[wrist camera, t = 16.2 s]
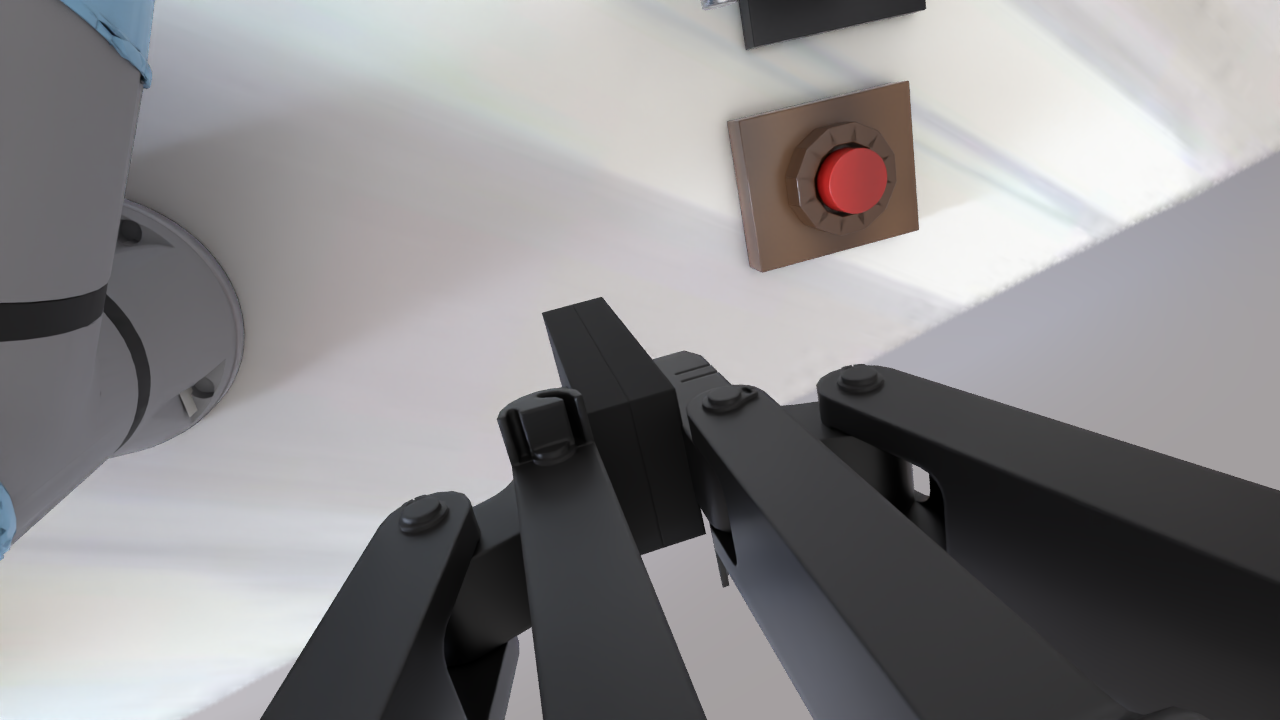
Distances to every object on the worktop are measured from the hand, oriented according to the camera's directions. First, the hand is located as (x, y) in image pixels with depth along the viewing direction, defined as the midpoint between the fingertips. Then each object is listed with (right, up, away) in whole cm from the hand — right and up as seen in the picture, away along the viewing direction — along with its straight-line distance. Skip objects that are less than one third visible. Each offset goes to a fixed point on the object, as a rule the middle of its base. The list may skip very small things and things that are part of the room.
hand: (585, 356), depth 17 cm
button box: (+14, +13, +31) cm, 36 cm away
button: (+15, +12, +28) cm, 33 cm away
